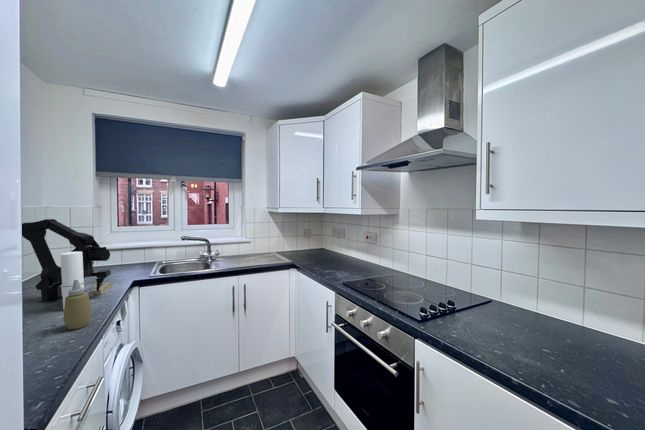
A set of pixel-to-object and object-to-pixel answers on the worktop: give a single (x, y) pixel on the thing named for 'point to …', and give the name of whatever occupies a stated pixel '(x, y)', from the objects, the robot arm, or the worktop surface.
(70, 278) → the cylindrical container
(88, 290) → the clip
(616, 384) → the worktop surface
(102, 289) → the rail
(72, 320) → the squeeze bottle
